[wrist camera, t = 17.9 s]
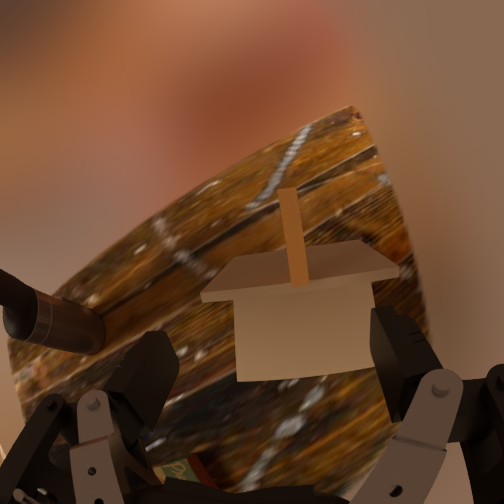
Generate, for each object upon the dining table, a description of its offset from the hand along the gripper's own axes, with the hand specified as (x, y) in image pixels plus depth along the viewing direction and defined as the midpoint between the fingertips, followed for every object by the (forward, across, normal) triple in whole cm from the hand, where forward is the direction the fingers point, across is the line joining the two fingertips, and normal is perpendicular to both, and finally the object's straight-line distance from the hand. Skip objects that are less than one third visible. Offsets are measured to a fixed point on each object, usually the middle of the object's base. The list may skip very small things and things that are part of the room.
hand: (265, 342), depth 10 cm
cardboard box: (+26, -1, +19) cm, 32 cm away
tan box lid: (+15, -1, +4) cm, 16 cm away
